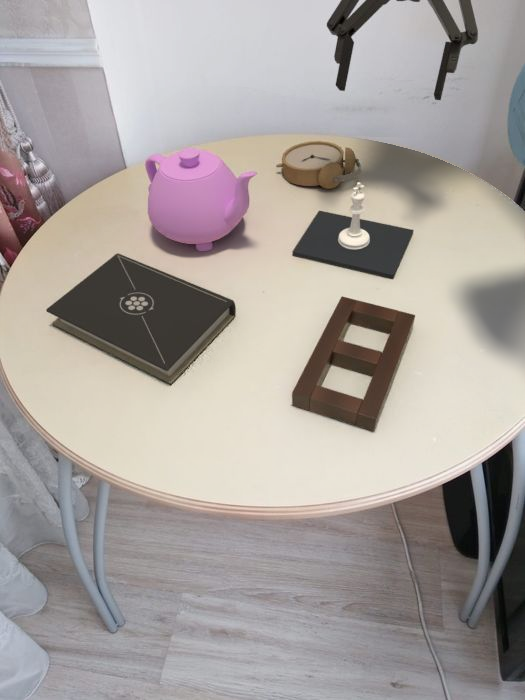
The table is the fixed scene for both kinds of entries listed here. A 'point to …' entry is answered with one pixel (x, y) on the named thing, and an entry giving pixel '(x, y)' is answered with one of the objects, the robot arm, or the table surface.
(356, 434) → the table surface
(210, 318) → the book
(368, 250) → the mat
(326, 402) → the holder
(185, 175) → the teapot
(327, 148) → the alarm clock
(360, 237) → the chess piece
